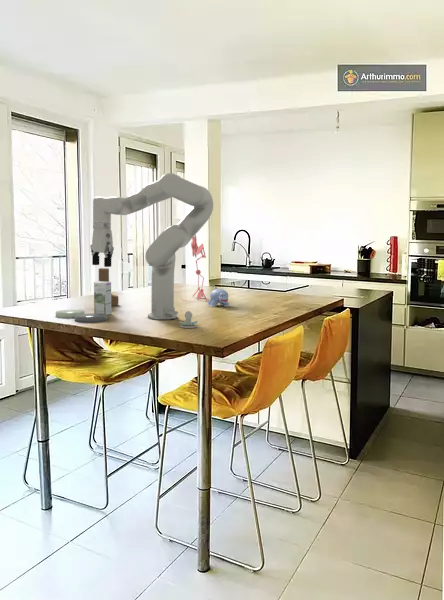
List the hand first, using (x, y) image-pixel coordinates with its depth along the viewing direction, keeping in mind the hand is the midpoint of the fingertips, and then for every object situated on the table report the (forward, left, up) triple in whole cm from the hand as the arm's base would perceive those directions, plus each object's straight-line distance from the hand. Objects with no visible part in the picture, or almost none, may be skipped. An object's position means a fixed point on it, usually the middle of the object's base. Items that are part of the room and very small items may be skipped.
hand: (101, 265), depth 231 cm
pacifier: (-46, -11, -22) cm, 52 cm away
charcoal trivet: (-9, +11, -22) cm, 26 cm away
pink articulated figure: (+15, -65, -22) cm, 70 cm away
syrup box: (0, 0, -22) cm, 22 cm away
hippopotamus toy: (-13, -59, -22) cm, 64 cm away
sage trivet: (+5, +13, -22) cm, 26 cm away
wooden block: (+21, -16, -22) cm, 34 cm away
